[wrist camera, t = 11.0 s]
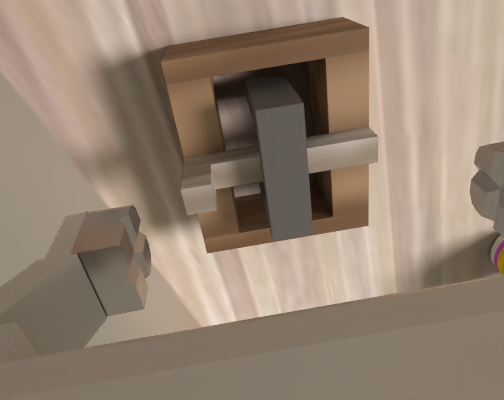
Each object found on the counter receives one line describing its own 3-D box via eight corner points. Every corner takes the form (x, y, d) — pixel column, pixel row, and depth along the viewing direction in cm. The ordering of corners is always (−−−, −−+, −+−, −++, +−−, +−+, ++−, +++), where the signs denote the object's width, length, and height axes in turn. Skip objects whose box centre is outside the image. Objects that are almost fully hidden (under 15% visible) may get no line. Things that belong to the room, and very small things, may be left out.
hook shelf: (167, 46, 33) (152, 80, 23) (343, 17, 33) (399, 39, 23) (207, 216, 41) (207, 293, 31) (347, 192, 41) (390, 261, 31)
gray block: (244, 79, 33) (255, 110, 26) (282, 73, 33) (303, 102, 26) (260, 190, 38) (273, 241, 31) (293, 184, 38) (313, 234, 31)
